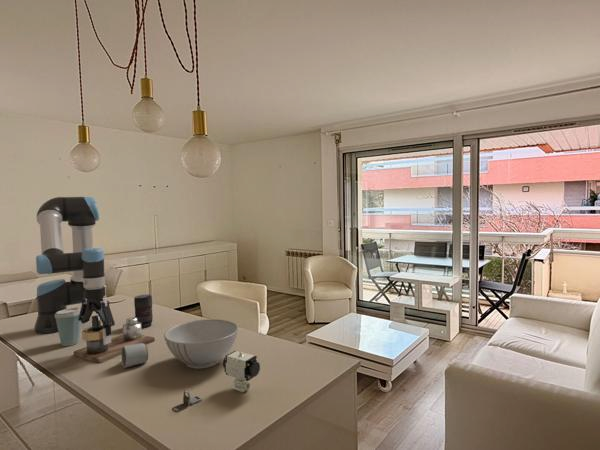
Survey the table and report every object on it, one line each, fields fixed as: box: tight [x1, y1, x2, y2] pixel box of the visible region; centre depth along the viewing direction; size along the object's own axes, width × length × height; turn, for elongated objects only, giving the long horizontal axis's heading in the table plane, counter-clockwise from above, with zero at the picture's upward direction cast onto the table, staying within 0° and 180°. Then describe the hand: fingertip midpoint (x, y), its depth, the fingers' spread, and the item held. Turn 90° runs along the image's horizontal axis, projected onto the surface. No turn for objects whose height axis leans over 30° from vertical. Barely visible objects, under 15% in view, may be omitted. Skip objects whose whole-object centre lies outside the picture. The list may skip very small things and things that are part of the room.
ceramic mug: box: [120, 343, 149, 369], centre depth 138 cm, size 11×8×8 cm
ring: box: [81, 324, 104, 341], centre depth 146 cm, size 9×9×4 cm
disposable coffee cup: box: [55, 306, 82, 347], centre depth 160 cm, size 11×11×15 cm
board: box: [73, 333, 156, 364], centre depth 154 cm, size 17×25×2 cm
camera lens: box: [133, 294, 154, 329], centre depth 181 cm, size 8×8×15 cm
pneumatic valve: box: [222, 350, 261, 393], centre depth 116 cm, size 6×12×12 cm, turn 58°
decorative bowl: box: [163, 318, 239, 370], centre depth 138 cm, size 27×27×12 cm
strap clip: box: [171, 390, 203, 413], centre depth 108 cm, size 8×3×4 cm, turn 137°
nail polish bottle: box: [85, 314, 108, 355], centre depth 146 cm, size 7×7×14 cm
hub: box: [122, 316, 143, 341], centre depth 161 cm, size 7×7×8 cm
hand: (97, 341), depth 147 cm, fingers open, 12 cm apart
